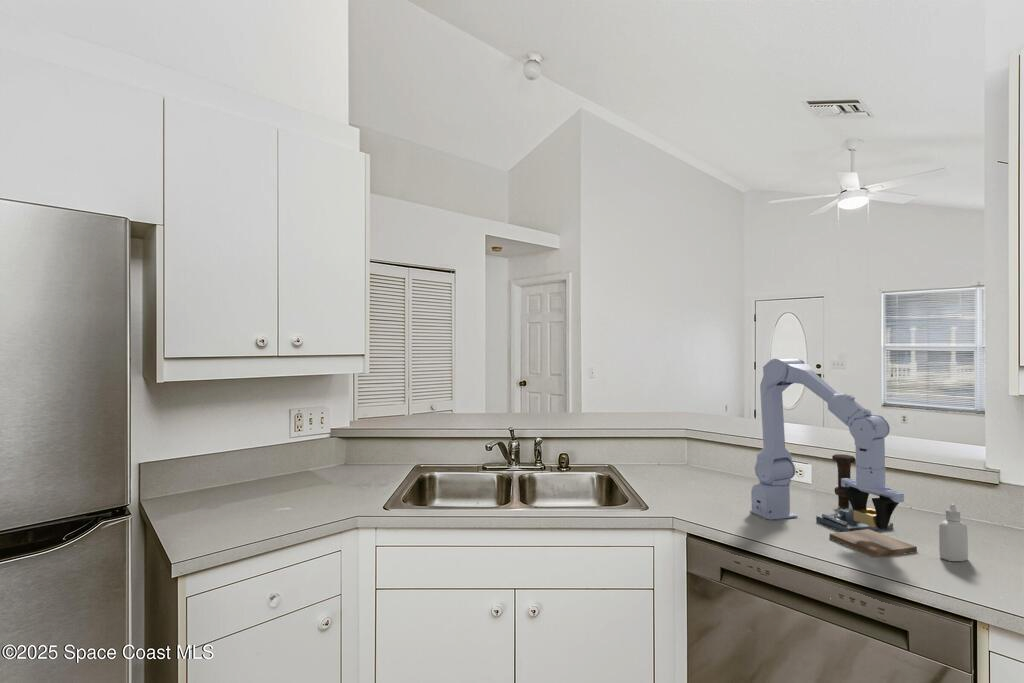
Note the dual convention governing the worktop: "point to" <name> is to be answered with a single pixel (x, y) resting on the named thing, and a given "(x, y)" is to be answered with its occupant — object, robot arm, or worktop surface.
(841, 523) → the vise
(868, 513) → the collar
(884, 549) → the board
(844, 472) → the bolt
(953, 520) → the eye dropper bottle
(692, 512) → the worktop surface
